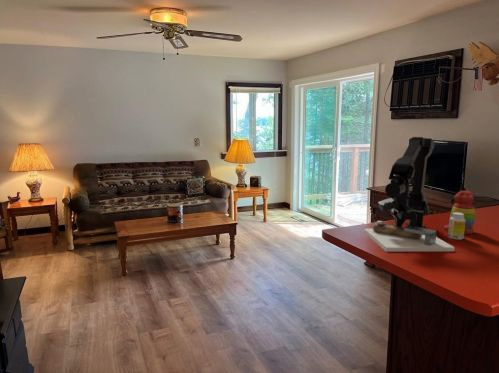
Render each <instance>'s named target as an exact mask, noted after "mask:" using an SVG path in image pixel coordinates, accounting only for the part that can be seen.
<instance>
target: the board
mask: <svg viewBox="0 0 499 373" xmlns="http://www.w3.org/2000/svg"><path fill="white" fill-rule="evenodd" d="M376 223H377V224H379V225H382V224H384V221H382V220H377V221H376ZM363 233H364V234H365V235H367V237H368V238H370V239H371V240H372V241H373V242H375V243H376V244H377V245H378V246H379V247H381V249H383V251H385V252H455V247H454V246H453V245H451V244H450V243H447V242H446V241H444V240H442V239H441V238H439V237H438V236H436V243H434V244H432V245H430V246H429V245H425V244H424V242H425V235H422V237H421V238H420V239H416V238H411V237H405V236H400V235H394V234H389V233H383V232H376V231H374V230H373V228H363Z"/></svg>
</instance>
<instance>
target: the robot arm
mask: <svg viewBox="0 0 499 373" xmlns="http://www.w3.org/2000/svg"><path fill="white" fill-rule="evenodd" d="M434 148H435V140H433V139H432V138H431V137H424V136H413V137H411V138H410V141H409V143H408V145H407V148H406V150H405V151H404V153H403V155H402V156H401V157H399V158H397V159H396V160H395V162H394V163H393V165H392V166H391V169H390V173H389V176H388V180H390V182H389V183H388V184H387V185H386V186H385V189H384V190H385V191H384V192H385V194H386V195H387V196H388V198H386V199H383V200H380V201H378V202H377V204H378V207H379V210H380V211H382V212H384V213H385V212H388V211H389V213H390V214H391V215H392V217H393V219H394V224H395V225H394V226H399V227H403V225H404V223H405V224H406V226H410V225H411V226H416V227H421V228H426V227H427V226H426V225H424V222H423V221H424V216H426V215H429V210H430V208H429V205H428V202H427V196H426V193H425V192H424V188H425V179H426V172H427V171H426V170H427V165H428V164H427V162H428V158H429V157H430V156H431V155H432V153H433V150H434ZM411 180H412V187H411V191H410V186H411ZM390 210H391V211H390ZM406 221H408V222H406Z"/></svg>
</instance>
